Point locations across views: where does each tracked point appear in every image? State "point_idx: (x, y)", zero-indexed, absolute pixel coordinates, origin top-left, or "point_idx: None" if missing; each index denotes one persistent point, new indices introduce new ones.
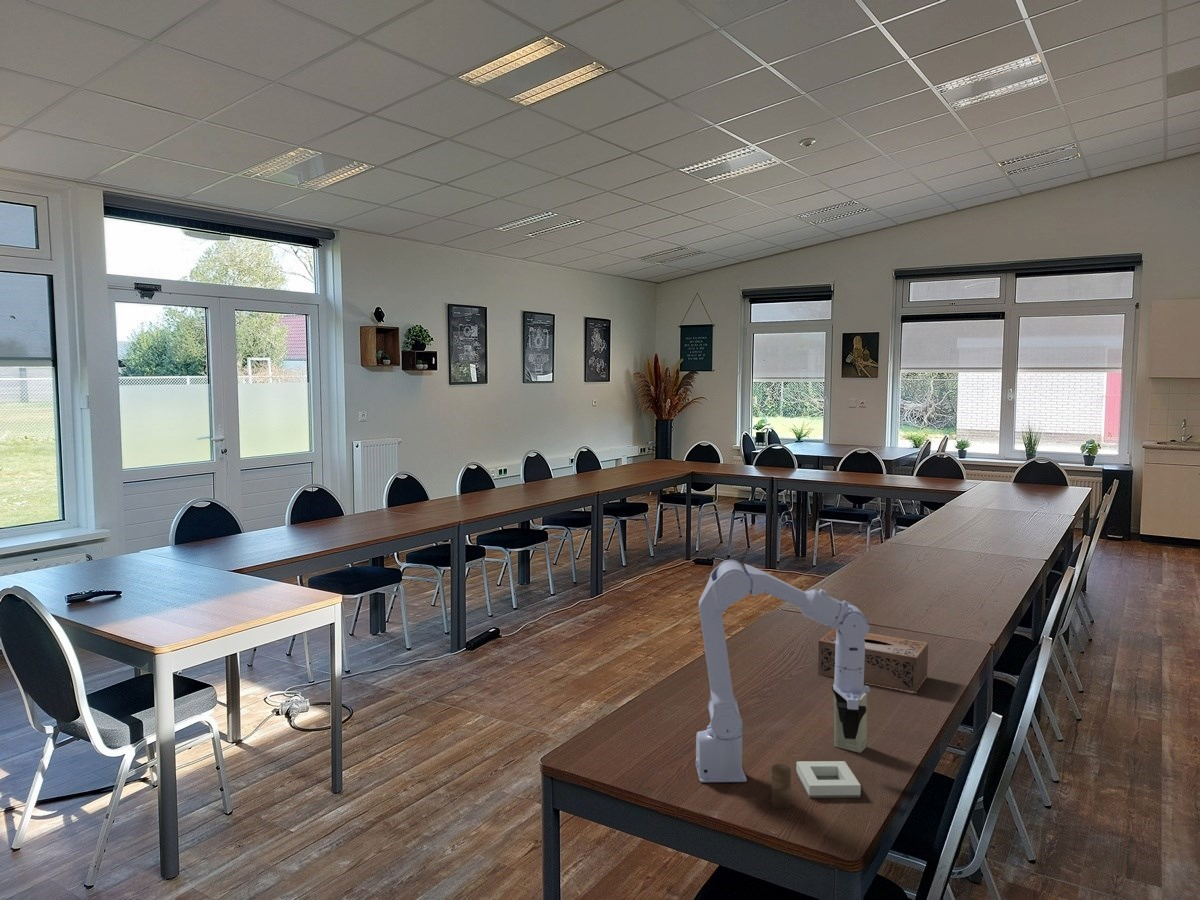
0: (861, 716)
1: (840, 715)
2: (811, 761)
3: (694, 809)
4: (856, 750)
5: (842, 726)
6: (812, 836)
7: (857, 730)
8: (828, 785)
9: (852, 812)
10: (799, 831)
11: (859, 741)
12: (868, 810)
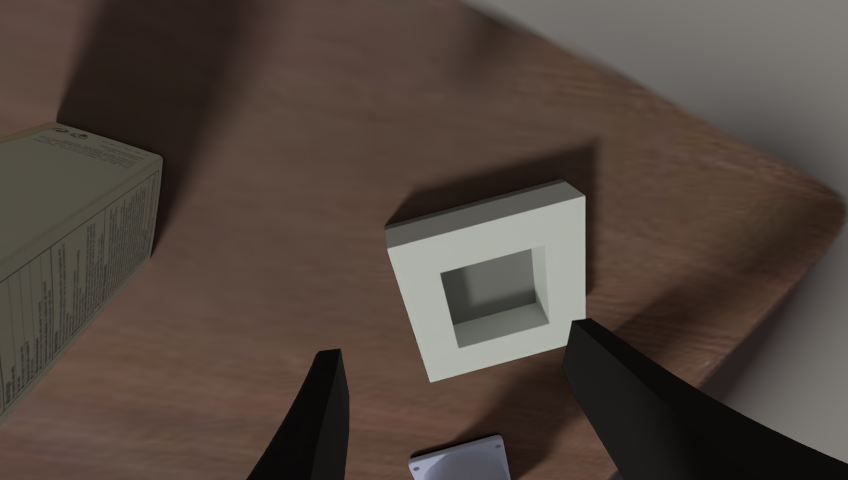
0: (837, 469)
1: (347, 442)
2: (419, 347)
3: (609, 473)
4: (157, 178)
5: (604, 437)
6: (742, 296)
7: (642, 355)
8: (584, 294)
9: (649, 206)
10: (716, 321)
11: (134, 183)
12: (642, 156)
